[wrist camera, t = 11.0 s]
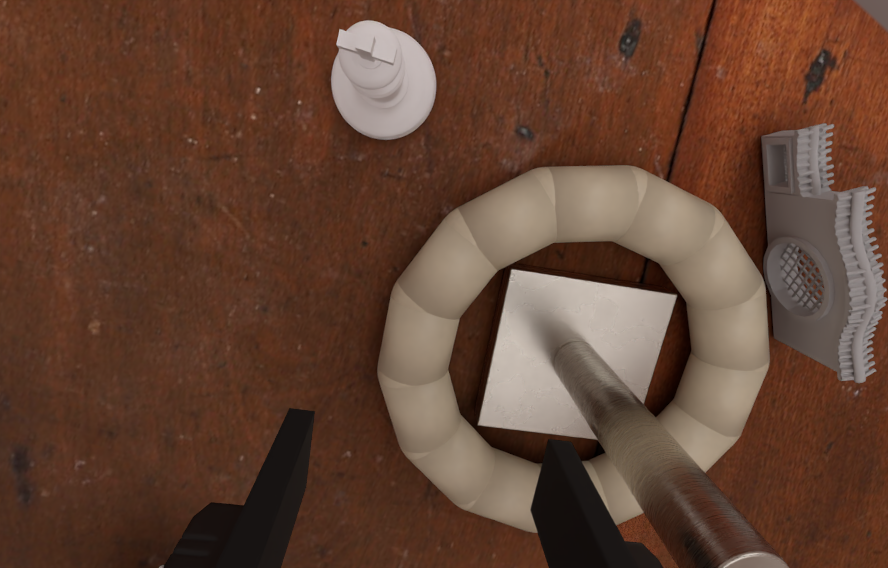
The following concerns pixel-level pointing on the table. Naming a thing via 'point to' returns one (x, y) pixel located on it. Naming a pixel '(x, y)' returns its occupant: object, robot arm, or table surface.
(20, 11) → the table surface
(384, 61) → the chess piece
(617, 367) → the stand
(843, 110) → the table surface
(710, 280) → the ring
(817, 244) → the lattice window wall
